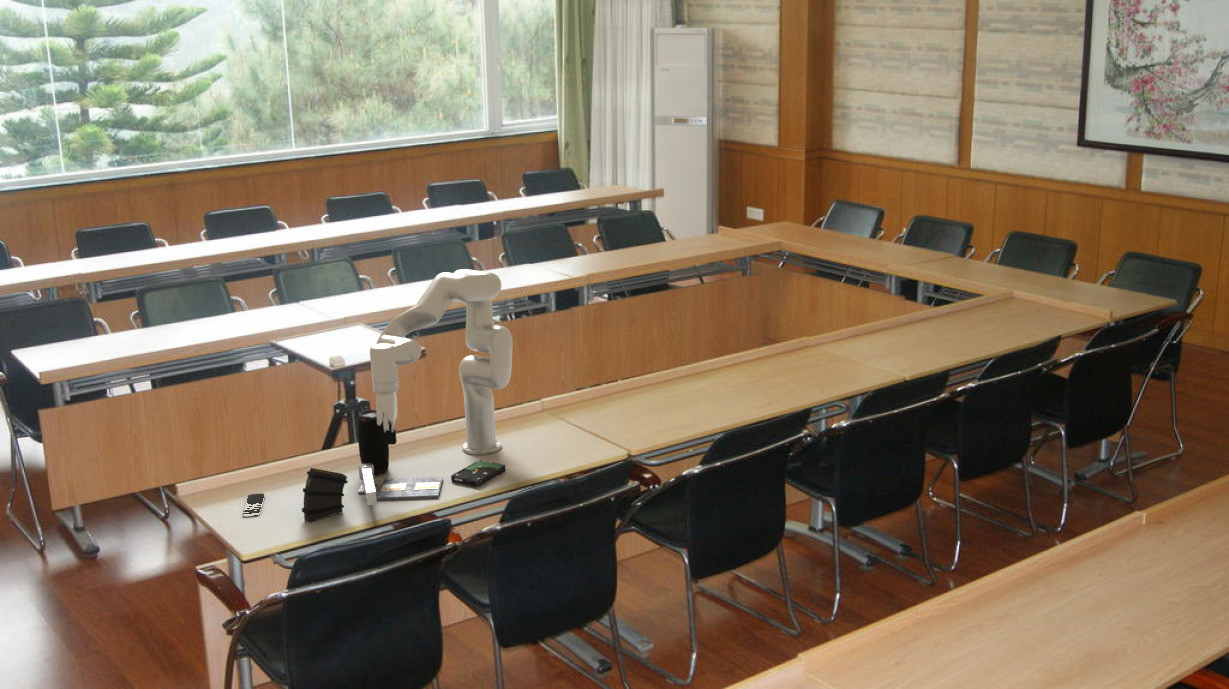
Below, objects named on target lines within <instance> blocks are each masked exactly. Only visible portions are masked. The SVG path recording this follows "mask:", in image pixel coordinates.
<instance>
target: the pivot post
mask: <svg viewBox="0 0 1229 689" xmlns="http://www.w3.org/2000/svg"><path fill="white" fill-rule="evenodd" d="M362 483H363V482H362ZM374 486H375V491H376V492H377V490H378V488H379V484H374ZM357 493H358V495H365V494H364V493H365V488H364V483H363V484H361V485H360V487H359V489H358V492H357Z"/></svg>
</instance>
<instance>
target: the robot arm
mask: <svg viewBox="0 0 1229 689" xmlns="http://www.w3.org/2000/svg"><path fill="white" fill-rule="evenodd" d="M501 290H502V280H501V278H500V277H499V276H498V275H497V274H496V273H493V272H490V271H482V270H475V269H470V268H469V269H468V268H461V269H457V270H454V271H453V272H448V271H446V272H440V273H439V274H437V275H436V276H435V277H434V278H433V279H432V282H430V284H429V286H427V288H426V290H425V291H424V293H423V294H422V295H421V297H420V298H419V300H418V301H417V302H416V303H415V305H414V306H413V307H411V308H409V309H407V310H405V311H404V312H403V313H401V314H399V315H397V316H396V317H394V318H393V319H392V320H391V321H390V322H388V323H387V325H386V326H385V328H384V329H383V330H382V332H381V333H380V335H379V337H378V339H377V341H376V343H375V344H373V345H372V346H371V347H370V349H369V358H370V359H369V360H370V369H371V380H372V381H371V382H372V391H373V393H375V394H376V395H375V396H376V397H375V406H376V408H375V409H376V410H377V425H379V426H380V425H381V423H382V421H383V426H384V438H385V444H386V445H390V446H391V445H396V444H397V432H396V420H397V417H398V399H397V392H398V391H399V390H400V386H399V384H400V383H399V373H398V372H399V371H398V367H399V366H406V365H411V364H413V363H416V361H418V360H419V359H420V357H421V355H422V347H421V344H420V343H419V342H418V341H416V340H415V339H412V338H408V337H406V336H407V335H409V334H410V333H412V332H414V331H416V330H420V329H424V328H428V327H432V326H434V325H437V323H439V321H440V320H441V319H442V318H443V316H444V314H445V313H446V311H447V310H448V308H449V307H450V305H452V303H453V302H458V303H464V306H465V308H466V312H465V313H466V314H465V315H466V317H465V345H466V347H467V348H468V349H469V350H471V351H474V352H478V353H481V354H483V353H484V354H487V355H488V354H489V356H485V355H479V354H471V355H467V356H465V357H463V359H462V360H461V361H460V363H459V366H458V367H459V368H458V375H459V379H460V382H461V387H462V391H463V401H464V416H465V418H464V419H465V431H466V432H465V433H466V434H465V436H466V442H464V443H463V444H462V447H461V448H462V451H463V452H464V453H466V454H470V455H474V456H475V455H478V456H479V455H486V454H487V455H489V454H492V453H496V452H497V451H499V450H500V449H501V448H502V444H501V443H502V442H500V441H499V440H497V438H496V437H497V434H496V419H495V418H496V417H495V403H494V402H495V400H494V399H495V398H494V395H493V393H494V392H493V390H494V389H495V390H500V389H504V388H505V387H507V386H508V384H509V382H510V379H511V375H512V366H513V365H512V364H513V349H514V348H513V347H514V346H513V345H514V343H513V342H514V340H513V336H512V333H511V331H510V330H509V329H508V328H507V327H506V326H503V325H500V324H494V309H493V308H494V307H493V302H492V300H493V299H495V298H496V297H498V295H500V292H501ZM492 389H493V390H492Z"/></svg>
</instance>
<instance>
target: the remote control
mask: <svg viewBox="0 0 1229 689" xmlns="http://www.w3.org/2000/svg"><path fill="white" fill-rule="evenodd" d="M264 495H265V493H263V492H262V493H251V494H248V495H247V497H248V498H246V500H247V503H248V504H251V505H253V504H256V503H259V504H262V502H263V498H264ZM264 499H265V498H264ZM263 503H264V502H263ZM257 506H261V505H257ZM249 507H252V506H249ZM254 508H259V509H252V510H245V511H244V510H243V511H242V515H243V514H252V513H259V512H260V509H261V507H254ZM247 509H250V508H247ZM254 510H257V511H254ZM243 512H249V513H243Z"/></svg>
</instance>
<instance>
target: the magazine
mask: <svg viewBox="0 0 1229 689" xmlns="http://www.w3.org/2000/svg"><path fill="white" fill-rule="evenodd" d="M306 475H307V478H306V481H305V487H303V489H302V493H304V494H303V495H304V496H303V507H302V508H301V512H302V513H303V518H304V520H305V521H306V522H307V521H308V523H309V522H310V523H313V522H316V521H319V520H322V519H325V518H324V517H326V518H328V517H327V516H329V515H332V514H335V513H338V514H340V513H339V512H342V513H343V509H344V508H345V505H344V504H343V503H342V502H343V497H344V496H345V493H343V491H344V487H345V484H348V482H349V481H348V480H347V478H348V476H347V475H345V473H340V472H333V471H330V470H325V469H319V468H315V467H310V469H309V470H307V472H306ZM335 515H336V514H335ZM332 516H333V515H332ZM329 517H330V516H329ZM321 518H322V519H321ZM318 519H319V520H318ZM315 520H316V521H315ZM312 521H313V522H312Z"/></svg>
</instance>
